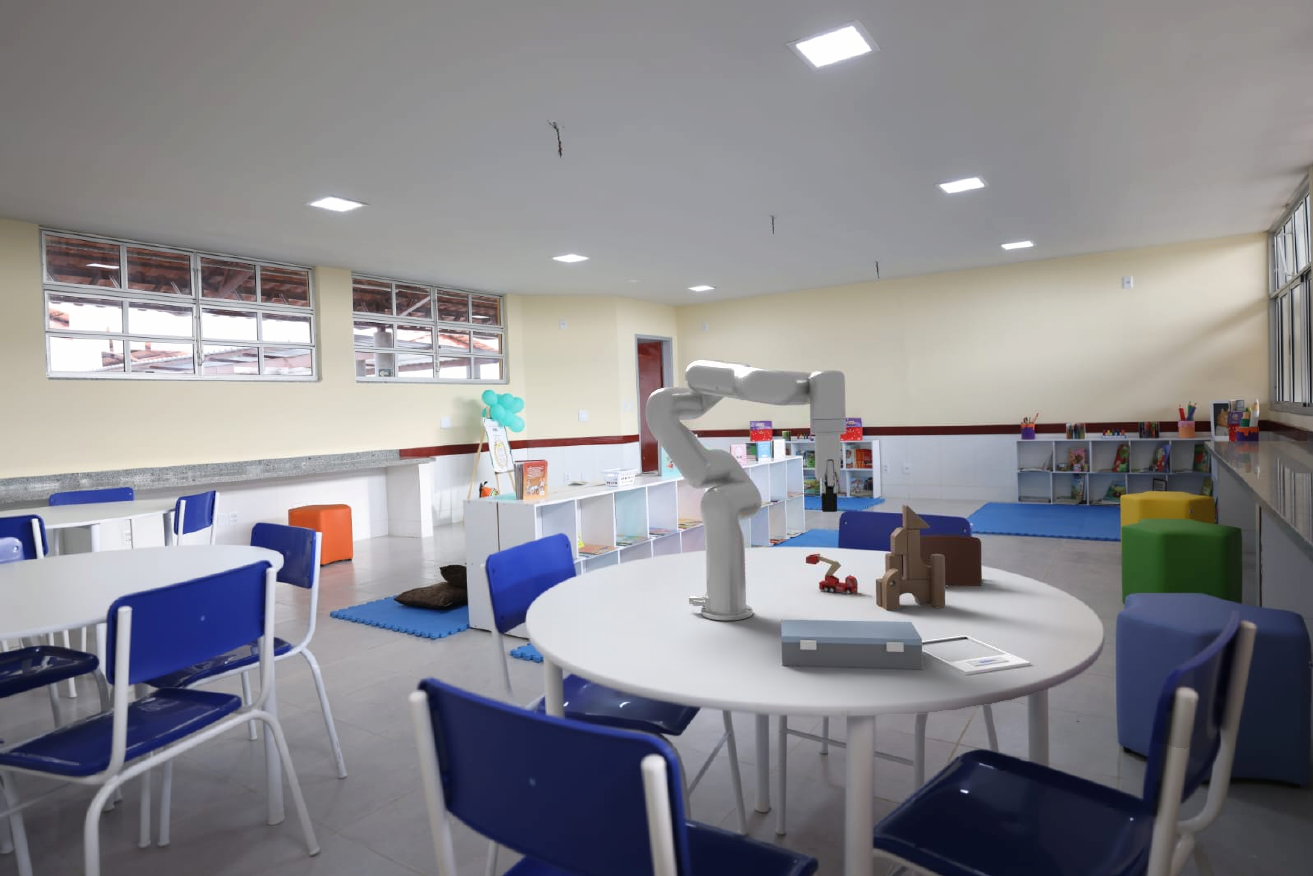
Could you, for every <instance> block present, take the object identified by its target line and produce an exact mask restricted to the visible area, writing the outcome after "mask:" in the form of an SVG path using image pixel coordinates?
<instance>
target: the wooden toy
mask: <svg viewBox="0 0 1313 876" xmlns="http://www.w3.org/2000/svg"><path fill="white" fill-rule="evenodd" d="M923 529H924V530H926V529H927V530H928V529H931V526H930V525H929V524H928V523H927V522H926V521H925V520H924V519H922V518H921V517H920V515H918V514H917V513H916V512H915V511H914V510H913V509H912V508H911V507H910V506H908V505H907V504H902V527H896V528H895V529H894V531H892V533H891V534H890V553H889V552H888V553H885V554H884V558H885V559H884V564H885V567H884V569H885V570H884V571H885V573H884V574H883V575H882V578H875V604H876V606H877V605H878V606H879V607H881V608H883V609H884V610H886V611H899V610H901V605H900V604H901V601H900V600H901V599H900V598H901V596H902V595H904V594H905V595H906V594H911V595H912V596H913V598H914V602H915V603H916V604H918V605H920V606H928V605H930V606H932V607H933V608H936V609H943V608H946V586H945V556H944V555H942V554H932V555H931V567H930V566H928V565H926V564H924V563H923V561H922V560H921V558H920V536H921V534H920V533H921V530H923ZM902 555H903V572H904V578H902Z"/></svg>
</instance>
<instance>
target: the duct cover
mask: <svg viewBox="0 0 1313 876" xmlns="http://www.w3.org/2000/svg"><path fill="white" fill-rule="evenodd" d="M780 623H781V624H780V628H781V631H780V632H781V633H782V636H781V643H782V642H794V643H800V649H805V650H816V643H838V644H883V645H886V648H887V651H889V652H904V645H922V646H923V643H922V641H923V638H922V637H921V635H920V634H919V632H918V631H917V629H916V628H915V626H914V624H913V623H912V622H911V621H883V620H879V621H878V620H834V619H833V620H832V619H830V620H828V619H827V620H825V619H823V620H822V619H821V620H820V619H816V620H815V619H780Z"/></svg>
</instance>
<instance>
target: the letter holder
mask: <svg viewBox="0 0 1313 876" xmlns="http://www.w3.org/2000/svg"><path fill="white" fill-rule="evenodd" d="M932 554H942V555H944V556H945V587H949V586H951V585H952V586H955V585H957V586H959V587H960V586H961V587H962V586H964V587H967V586H968V587H969V586H970V587H976V586H979V587H981V586H983V571H982V570H983V569H982V567H983V566H982V541H981V539H980V538H979V537H975V536H968V535H961V534H960V535H959V534H957V535H956V534H929V535H928V534H927V535H920V558H921V560H922V561H923V563H924V564H926V565H928V566H930V567H931V555H932ZM902 578H904V572H903V555H902ZM946 585H948V586H946ZM955 587H956V586H955Z"/></svg>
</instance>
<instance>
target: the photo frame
mask: <svg viewBox="0 0 1313 876" xmlns="http://www.w3.org/2000/svg"><path fill="white" fill-rule="evenodd" d="M963 638H965V639H967V640H968V641H970V642H972V643H974V644H976V645H979V646H982V647H983V648H986V649H989V650H990V651H993V652H994V653H995V652H996V653H998V655H990V656H984V657H976V658H970V659H963V660H955V661H947V660H945V659H943V658H942V657H939V656H937V655H936V654H934V653H931V652H929V651H927V650H925V649H923V648H922V655H925V656H927V657H929V658H931V659H932V660H934V661H937V662H939V663H941V664H943V665H945V666H947V667H949V668H951V669H953V670H955V671H957V672H959V673H961V674H964V675H965V676H966V675H973V674H980V673H986V672H993V671H999V670H1006V669H1013V668H1019V667H1020V668H1021V667H1026V666H1031V664H1032V663H1031V661H1028V660H1026V659H1024V658H1021V657H1019V656H1017V655H1014V654H1012V653H1009V652H1007V651H1004V650H1003V649H999V648H997V647H994V646H993V645H990V644H987V643H985V642H982V641H980V640H979V639H975V638H973V637H971V636H969V635H966V634H965V635H963V634H962V635H956V636H949V637H942V638H941V637H940V638H934V639H927V640H922V644H926V643H934V642H940V641H941V642H942V641H948V640H957V639H963Z"/></svg>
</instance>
